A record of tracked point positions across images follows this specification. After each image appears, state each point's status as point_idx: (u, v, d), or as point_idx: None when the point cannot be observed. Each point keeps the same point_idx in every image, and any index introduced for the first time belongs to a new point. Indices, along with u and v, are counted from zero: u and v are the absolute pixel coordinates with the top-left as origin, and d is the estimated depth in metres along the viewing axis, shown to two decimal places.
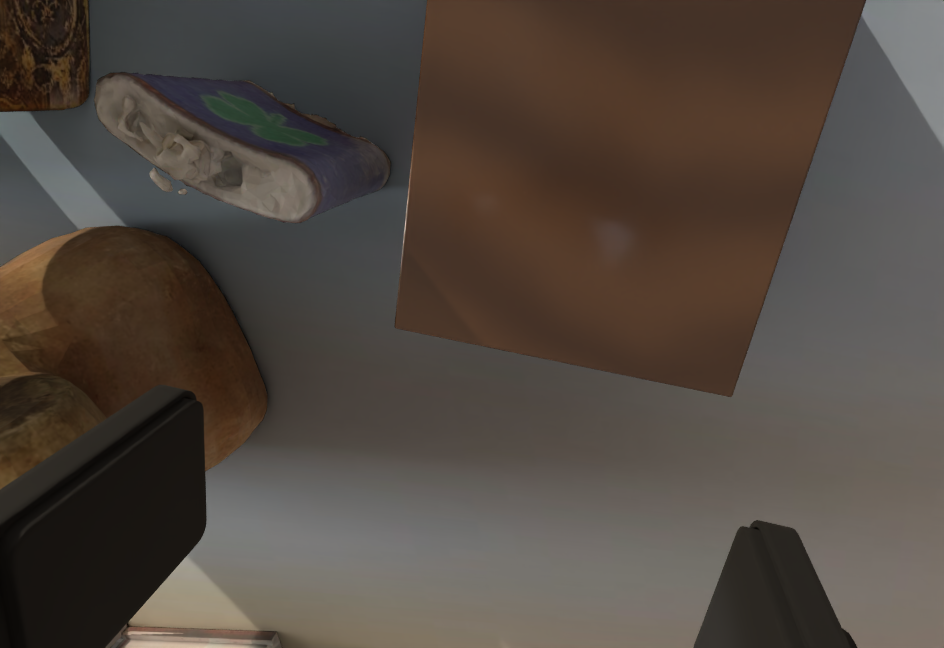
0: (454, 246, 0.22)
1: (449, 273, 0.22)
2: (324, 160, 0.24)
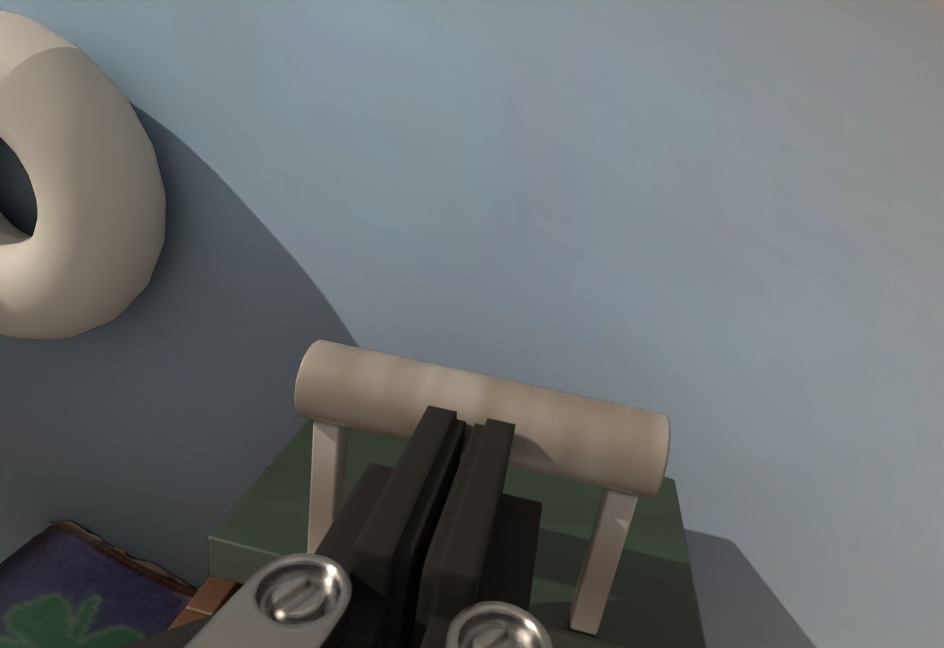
0: None
1: None
2: None
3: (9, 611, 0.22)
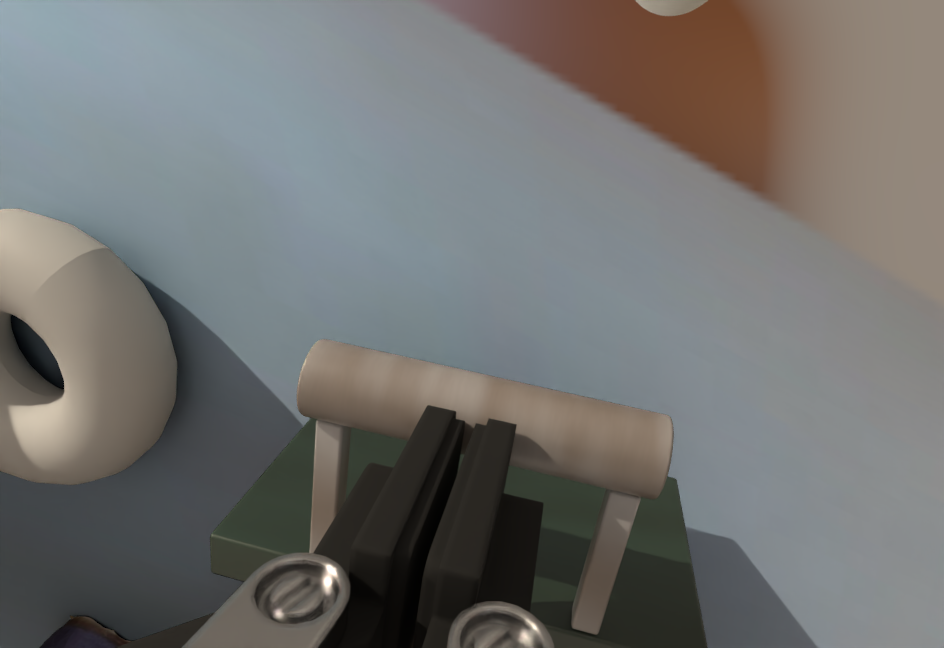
0: None
1: None
2: None
3: None
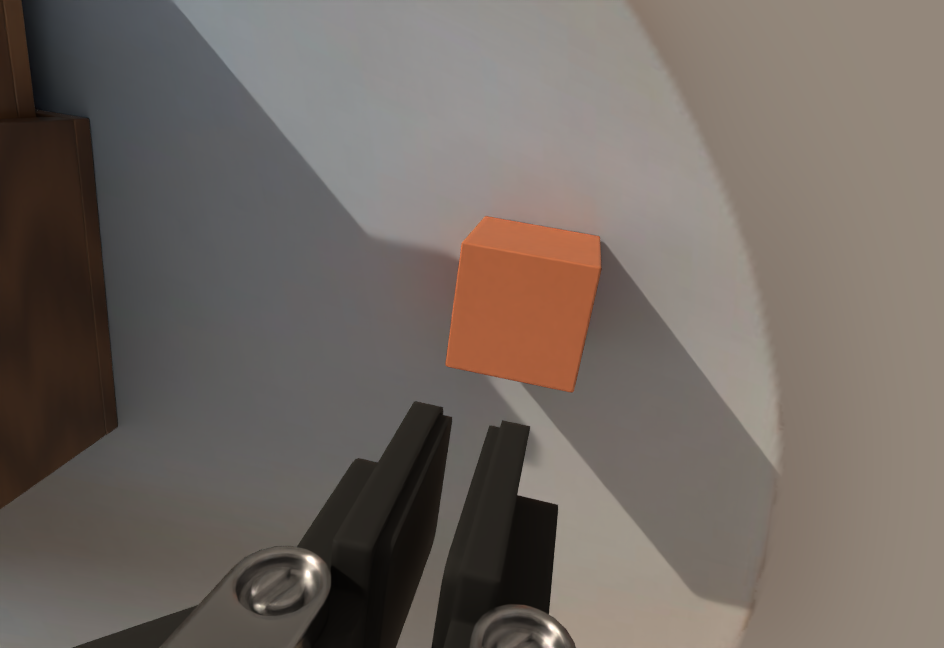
0: None
1: None
2: None
3: None
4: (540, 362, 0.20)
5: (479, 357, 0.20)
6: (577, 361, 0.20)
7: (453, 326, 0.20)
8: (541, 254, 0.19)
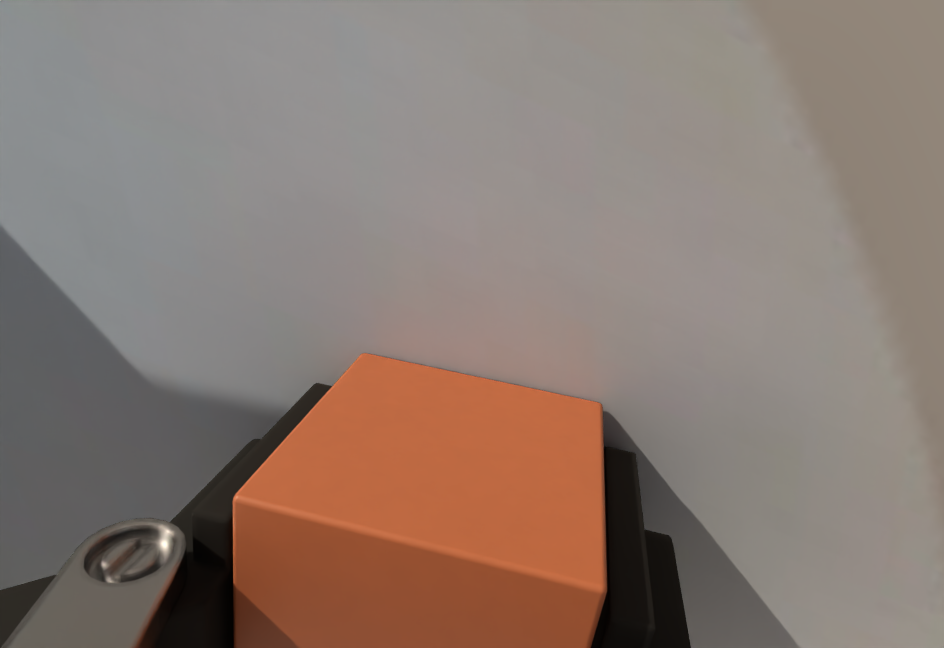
0: None
1: None
2: None
3: None
4: None
5: None
6: None
7: None
8: (443, 536, 0.07)
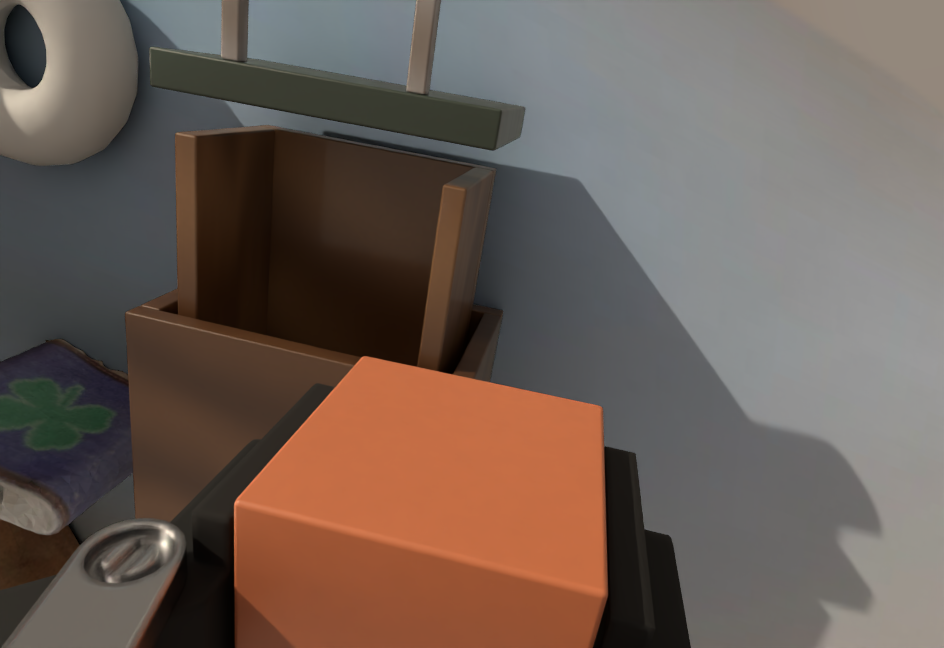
0: None
1: None
2: (83, 470, 0.27)
3: (13, 382, 0.30)
4: None
5: None
6: None
7: None
8: (444, 541, 0.07)
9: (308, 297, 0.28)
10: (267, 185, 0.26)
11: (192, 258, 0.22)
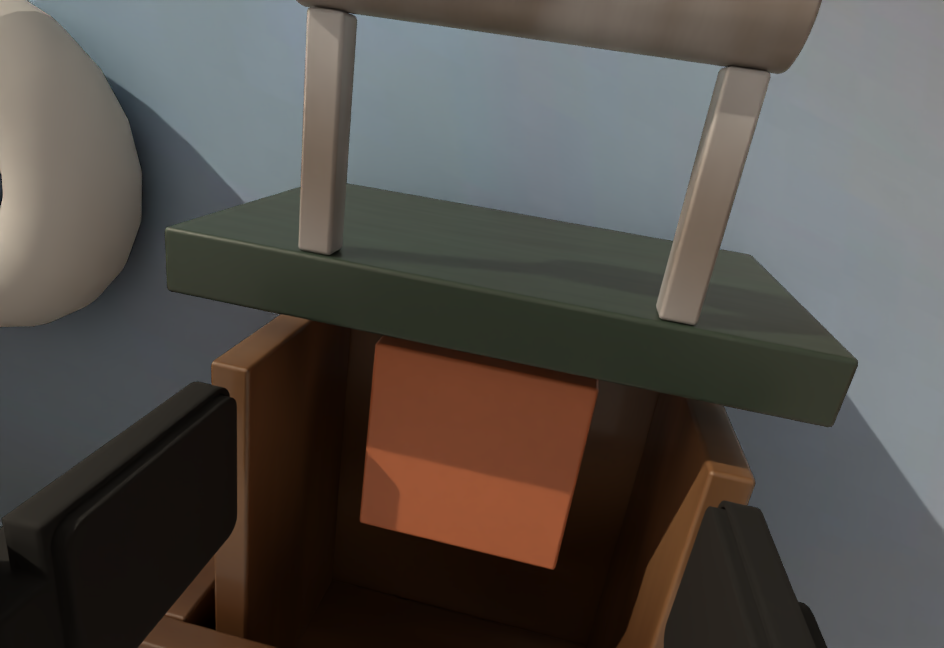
0: None
1: None
2: None
3: None
4: (502, 525, 0.13)
5: (409, 512, 0.13)
6: (560, 527, 0.13)
7: (368, 466, 0.13)
8: (502, 365, 0.12)
9: None
10: (341, 369, 0.17)
11: (240, 547, 0.13)
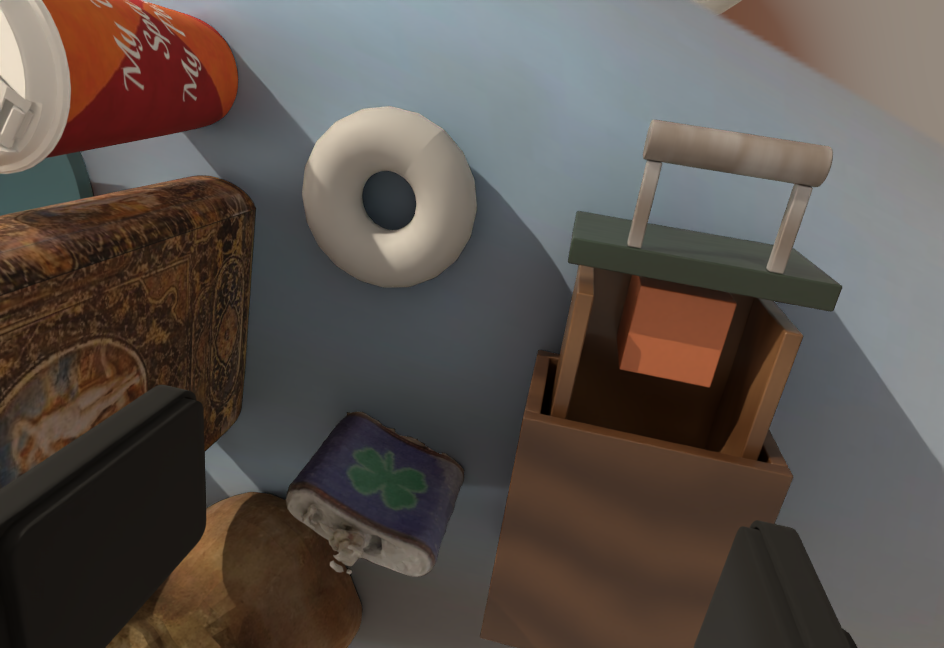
0: (523, 599, 0.33)
1: (519, 613, 0.34)
2: (433, 525, 0.35)
3: (354, 453, 0.38)
4: (688, 367, 0.29)
5: (645, 363, 0.30)
6: (715, 366, 0.29)
7: (628, 342, 0.30)
8: (695, 294, 0.28)
9: (601, 386, 0.35)
10: None
11: (572, 377, 0.30)
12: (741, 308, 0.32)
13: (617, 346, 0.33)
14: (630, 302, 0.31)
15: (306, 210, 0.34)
